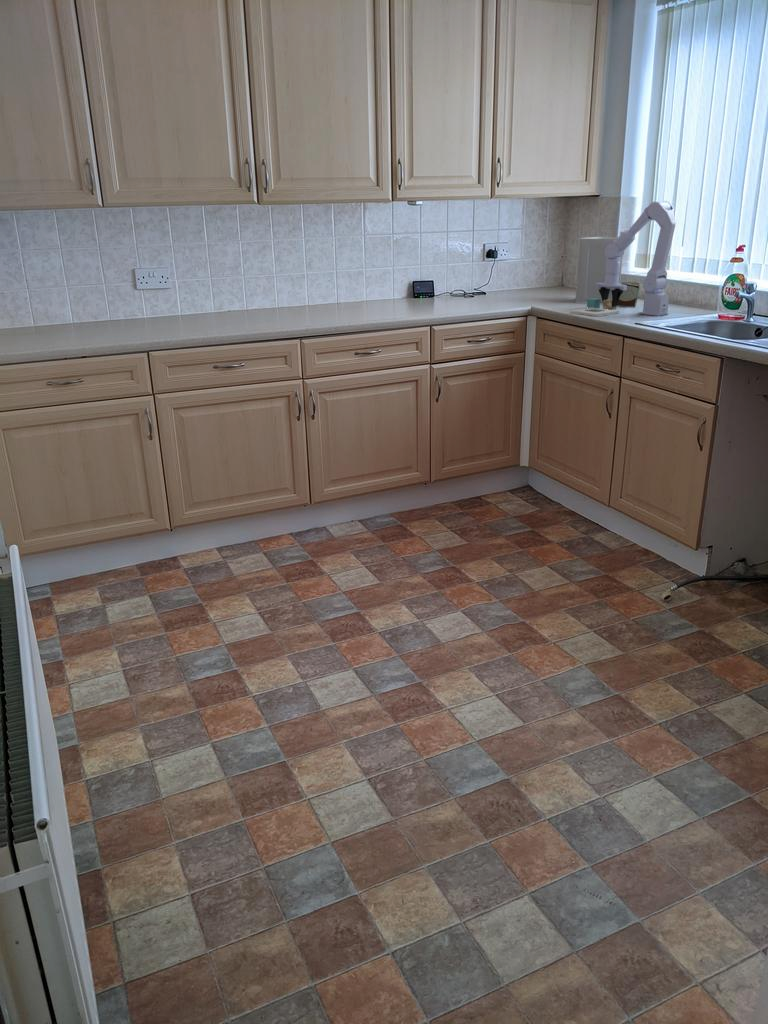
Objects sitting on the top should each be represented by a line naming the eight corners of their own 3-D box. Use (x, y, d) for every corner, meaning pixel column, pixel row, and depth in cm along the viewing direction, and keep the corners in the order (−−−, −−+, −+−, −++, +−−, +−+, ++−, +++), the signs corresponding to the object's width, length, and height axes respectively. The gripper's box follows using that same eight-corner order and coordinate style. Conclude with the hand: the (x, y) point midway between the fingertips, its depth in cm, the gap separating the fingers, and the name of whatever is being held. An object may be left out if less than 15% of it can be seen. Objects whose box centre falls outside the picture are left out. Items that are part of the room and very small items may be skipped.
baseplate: (618, 313, 351) (618, 310, 351) (597, 316, 343) (597, 313, 342) (591, 309, 361) (591, 307, 361) (570, 313, 353) (570, 310, 353)
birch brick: (615, 309, 362) (616, 300, 361) (610, 310, 360) (611, 301, 358) (608, 308, 365) (609, 299, 364) (602, 309, 363) (603, 300, 361)
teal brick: (599, 308, 366) (600, 299, 365) (594, 309, 364) (594, 299, 362) (592, 307, 369) (593, 298, 368) (586, 308, 367) (587, 299, 365)
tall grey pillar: (615, 299, 394) (621, 236, 383) (618, 303, 380) (624, 238, 370) (574, 298, 396) (578, 236, 386) (575, 302, 383) (580, 238, 373)
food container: (643, 306, 372) (646, 282, 368) (637, 307, 367) (640, 284, 364) (617, 303, 379) (619, 281, 375) (611, 305, 375) (613, 282, 371)
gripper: (632, 274, 354) (629, 306, 359) (604, 271, 365) (601, 303, 370) (622, 275, 350) (619, 308, 355) (594, 272, 360) (591, 304, 365)
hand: (609, 306), depth 362 cm, fingers open, 4 cm apart
